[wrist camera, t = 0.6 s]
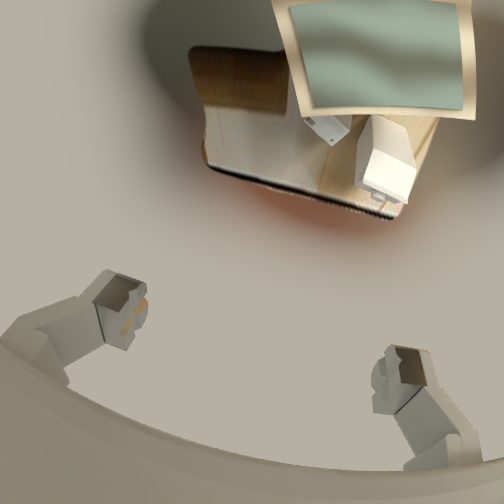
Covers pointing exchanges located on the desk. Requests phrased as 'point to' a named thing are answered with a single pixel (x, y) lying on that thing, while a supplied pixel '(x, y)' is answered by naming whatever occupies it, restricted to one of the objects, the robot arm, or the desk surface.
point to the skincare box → (330, 126)
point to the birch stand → (380, 56)
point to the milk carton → (384, 161)
